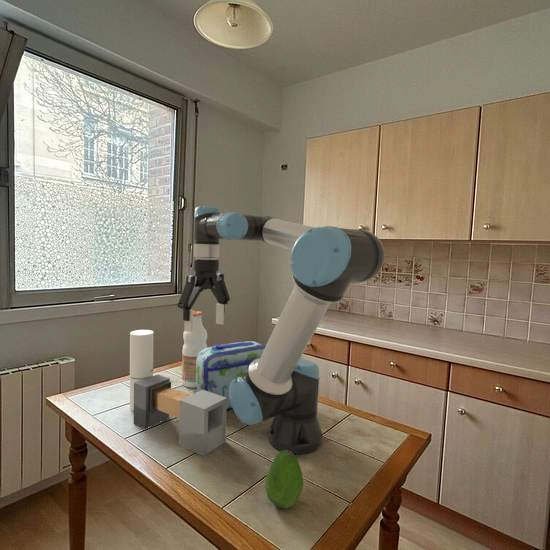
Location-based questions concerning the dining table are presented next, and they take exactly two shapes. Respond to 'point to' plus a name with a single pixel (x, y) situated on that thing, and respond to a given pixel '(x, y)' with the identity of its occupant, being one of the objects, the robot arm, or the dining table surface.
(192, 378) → the fruit juice
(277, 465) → the avocado
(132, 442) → the dining table surface
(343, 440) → the dining table surface
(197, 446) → the sleeve
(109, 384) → the dining table surface
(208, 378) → the lunch box
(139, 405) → the socket
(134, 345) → the cylindrical container
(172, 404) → the square peg
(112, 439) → the dining table surface
